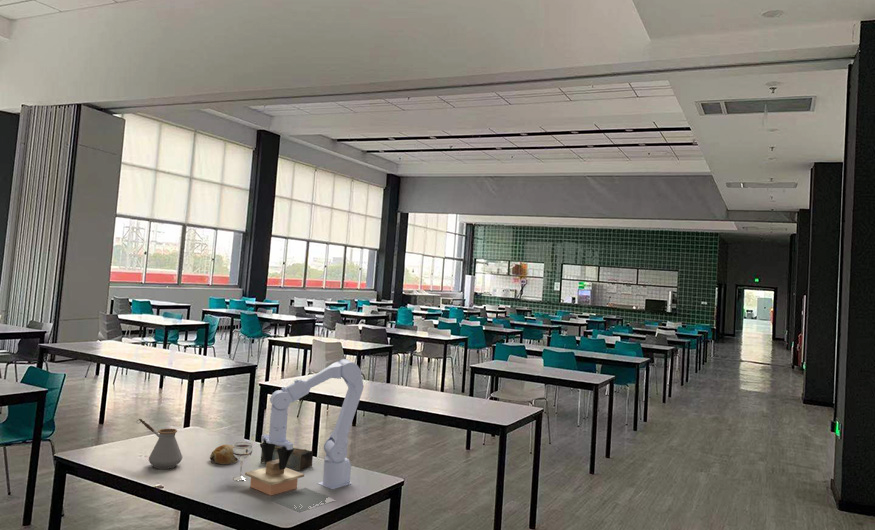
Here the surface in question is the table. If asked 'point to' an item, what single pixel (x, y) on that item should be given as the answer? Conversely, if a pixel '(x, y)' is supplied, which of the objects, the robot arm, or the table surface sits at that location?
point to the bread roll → (223, 455)
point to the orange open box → (273, 486)
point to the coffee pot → (164, 448)
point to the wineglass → (242, 455)
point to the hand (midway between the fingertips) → (275, 466)
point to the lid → (274, 473)
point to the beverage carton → (294, 458)
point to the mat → (300, 499)
